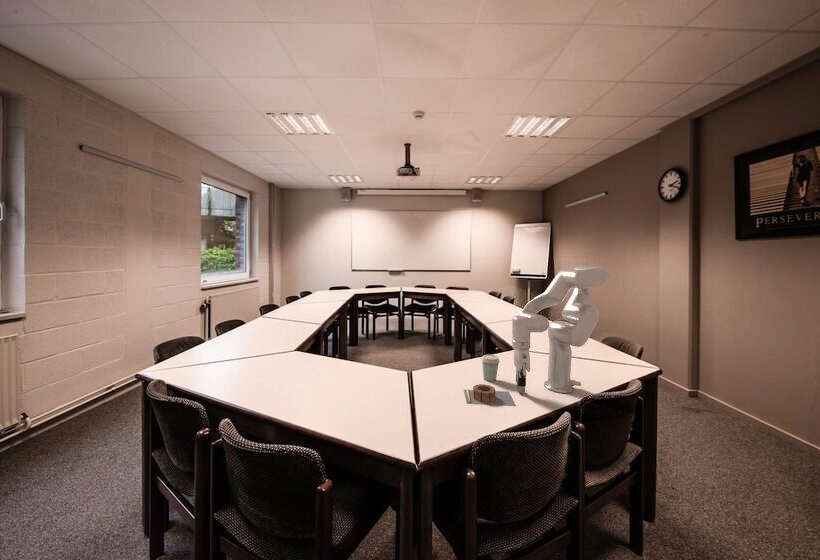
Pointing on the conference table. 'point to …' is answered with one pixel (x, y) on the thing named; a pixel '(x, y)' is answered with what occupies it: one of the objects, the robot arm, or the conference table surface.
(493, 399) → the brown wooden ring
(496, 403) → the mat
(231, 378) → the conference table surface
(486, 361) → the coffee cup
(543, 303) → the robot arm
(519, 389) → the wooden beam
